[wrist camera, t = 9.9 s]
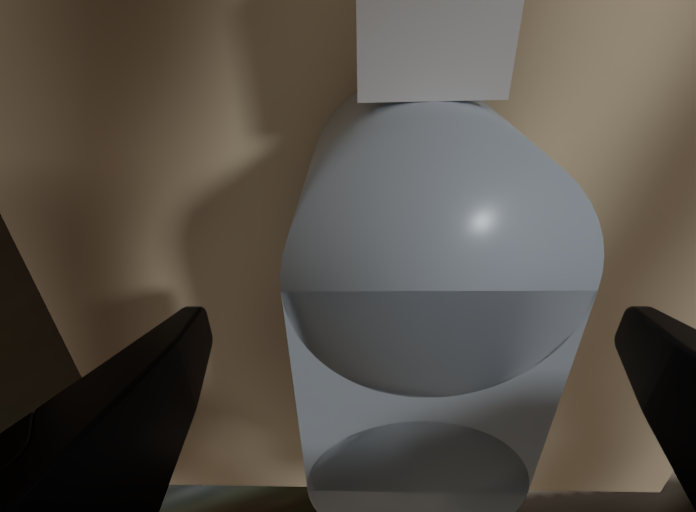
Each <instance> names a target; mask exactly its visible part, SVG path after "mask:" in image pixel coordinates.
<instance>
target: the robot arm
mask: <svg viewBox="0 0 696 512" xmlns="http://www.w3.org/2000/svg"><path fill="white" fill-rule="evenodd" d="M212 343H213V336H212V331H211V327H210V323H209V319H208V316H207V312H206V310H205V308H204V307H202V306H186V307H184V308H182V309H180V310H179V311H177V312H176V313H175V314H173V315H172V316H170V317H169V318H167V319H166V320H164V321H163V322H162V323H160V324H159V325H157V326H156V327H154V328H153V329H151V330H150V331H149V332H147V333H146V334H144V335H143V336H141V337H140V338H138V339H137V340H135V341H134V342H133V343H131V344H130V345H128V346H127V347H125V348H124V349H122V350H121V351H120V352H118V353H117V354H115V355H114V356H112V357H111V358H109V359H108V360H107V361H105V362H104V363H102V364H101V365H99V366H98V367H96V368H95V369H93V370H92V371H91V372H89V373H88V374H86V375H85V376H83V377H82V378H80V379H79V380H78V381H76V382H75V383H73V384H72V385H70V386H69V387H67V388H66V389H64V390H63V391H62V392H60V393H59V394H57V395H56V396H54V397H53V398H51V399H50V400H49V401H47V402H46V403H44V404H43V405H41V406H40V407H38V408H37V409H36V410H35V413H34V412H31V413H29V414H28V415H27V416H25V417H24V418H22V419H21V420H19V421H18V422H16V423H15V424H14V425H12V426H11V427H9V428H8V429H6V430H5V431H3V432H2V433H0V512H159V510H160V508H161V505H162V502H163V500H164V497H165V494H166V491H167V489H168V486H169V483H170V481H171V478H172V475H173V472H174V470H175V467H176V464H177V461H178V459H179V456H180V453H181V451H182V448H183V445H184V442H185V440H186V437H187V434H188V431H189V429H190V426H191V423H192V421H193V418H194V415H195V412H196V409H197V405H198V402H199V398H200V394H201V390H202V386H203V381H204V377H205V373H206V369H207V365H208V361H209V356H210V352H211V348H212ZM614 343H615V347H616V350H617V352H618V355H619V357H620V360H621V362H622V365H623V367H624V369H625V372H626V374H627V377H628V379H629V382H630V384H631V387H632V389H633V391H634V394H635V396H636V399H637V401H638V403H639V406H640V408H641V410H642V412H643V414H644V416H645V418H646V420H647V422H648V424H649V426H650V428H651V430H652V432H653V433H654V435H655V437H656V439H657V441H658V443H659V445H660V446H661V448H662V450H663V452H664V454H665V456H666V458H667V459H668V461H669V463H670V465H671V467H672V469H673V471H674V472H675V474H676V476H677V478H678V480H679V482H680V484H681V485H682V487H683V489H684V491H685V493H686V495H687V497H688V498H689V500H690V502H691V504H692V506H693V508H694V510H695V511H696V329H695V328H693V327H691V326H689V325H687V324H685V323H683V322H681V321H679V320H677V319H675V318H673V317H671V316H669V315H667V314H665V313H663V312H661V311H659V310H657V309H655V308H653V307H650V306H630V307H628V308H627V309H626V310H625V311H624V314H623V316H622V319H621V321H620V324H619V326H618V329H617V331H616V333H615V338H614Z"/></svg>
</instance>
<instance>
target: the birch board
mask: <svg viewBox="0 0 696 512" xmlns="http://www.w3.org/2000/svg"><path fill="white" fill-rule="evenodd" d="M355 92H357V26H356V0H0V214H1V216H2V218H3V220H4V222H5V224H6V226H7V228H8V230H9V232H10V234H11V236H12V238H13V240H14V242H15V244H16V246H17V248H18V250H19V252H20V254H21V256H22V258H23V260H24V262H25V264H26V266H27V268H28V270H29V272H30V274H31V276H32V278H33V280H34V282H35V284H36V286H37V288H38V290H39V292H40V294H41V296H42V299H43V301H44V303H45V305H46V307H47V309H48V311H49V313H50V315H51V317H52V319H53V321H54V323H55V325H56V327H57V329H58V331H59V333H60V335H61V337H62V339H63V341H64V343H65V345H66V347H67V349H68V351H69V353H70V355H71V357H72V359H73V361H74V363H75V365H76V367H77V369H78V371H79V373H80V375H81V377H83V376H85V375H86V374H88V373H89V372H91V371H92V370H93V369H95V368H96V367H98V366H99V365H101V364H102V363H104V362H105V361H107V360H108V359H109V358H111V357H112V356H114V355H115V354H117V353H118V352H120V351H121V350H122V349H124V348H125V347H127V346H128V345H130V344H131V343H133V342H134V341H135V340H137V339H138V338H140V337H141V336H143V335H144V334H146V333H147V332H149V331H150V330H151V329H153V328H154V327H156V326H157V325H159V324H160V323H162V322H163V321H164V320H166V319H167V318H169V317H170V316H172V315H173V314H175V313H176V312H177V311H179V310H180V309H182V308H184V307H186V306H202V307H204V308H205V310H206V312H207V316H208V319H209V323H210V327H211V331H212V336H213V343H212V348H211V352H210V356H209V361H208V365H207V369H206V373H205V377H204V381H203V386H202V390H201V394H200V398H199V402H198V405H197V409H196V412H195V415H194V418H193V421H192V423H191V426H190V429H189V431H188V434H187V437H186V440H185V442H184V445H183V448H182V451H181V453H180V456H179V459H178V461H177V464H176V467H175V470H174V472H173V475H172V478H171V481H170V483H169V484H173V485H236V486H299V487H307V483H306V475H305V468H304V460H303V453H302V445H301V438H300V430H299V423H298V415H297V408H296V400H295V393H294V385H293V378H292V371H291V363H290V356H289V348H288V341H287V333H286V326H285V318H284V311H283V303H282V296H281V283H280V271H281V261H282V255H283V252H284V248H285V244H286V240H287V237H288V234H289V231H290V227H291V224H292V221H293V218H294V215H295V211H296V208H297V205H298V202H299V199H300V195H301V192H302V189H303V186H304V183H305V179H306V176H307V173H308V170H309V167H310V163H311V160H312V157H313V154H314V151H315V147H316V144H317V141H318V139H319V136H320V134H321V132H322V130H323V128H324V126H325V125H326V123H327V121H328V120H329V118H330V117H331V116H332V114H333V113H334V112H335V110H336V109H337V108H338V107H339V106H340V105H341V104H342V103H343V102H344V101H345V100H346V99H347V98H349V97H350V96H351V95H353V94H354V93H355ZM484 101H485V102H486V103H487V104H488V105H490V106H491V107H492V108H493V109H494V110H495V111H497V112H498V113H499V114H500V115H501V116H502V117H504V118H505V119H506V120H507V121H508V122H509V123H511V124H512V125H513V126H514V127H515V128H516V129H518V130H519V131H520V132H521V133H522V134H523V135H525V136H526V137H527V138H528V139H529V140H530V141H532V142H533V143H534V144H535V145H536V146H537V147H539V148H540V149H541V150H542V151H543V152H544V153H546V154H547V155H548V156H549V157H550V158H551V159H553V160H554V161H555V162H556V163H557V164H558V165H560V166H561V167H562V168H563V169H564V170H565V171H566V172H567V173H568V174H569V175H570V176H571V177H572V178H573V179H574V180H575V181H576V182H577V183H578V184H579V185H580V187H581V188H582V189H583V191H584V192H585V194H586V195H587V197H588V198H589V200H590V201H591V203H592V205H593V208H594V210H595V212H596V214H597V216H598V219H599V223H600V227H601V231H602V235H603V243H604V264H603V273H602V277H601V281H600V285H599V288H598V292H597V295H596V298H595V300H594V303H593V306H592V309H591V312H590V315H589V318H588V321H587V323H586V326H585V329H584V332H583V335H582V338H581V341H580V344H579V347H578V349H577V352H576V355H575V358H574V361H573V364H572V367H571V370H570V372H569V375H568V378H567V381H566V384H565V387H564V390H563V393H562V396H561V398H560V401H559V404H558V407H557V410H556V413H555V416H554V419H553V421H552V424H551V427H550V430H549V433H548V436H547V439H546V442H545V445H544V447H543V450H542V453H541V456H540V459H539V462H538V465H537V468H536V470H535V473H534V476H533V479H532V482H531V485H530V488H529V490H552V491H615V492H661V490H662V489H663V487H664V485H665V484H666V482H667V481H668V479H669V478H670V476H671V475H672V473H673V469H672V467H671V465H670V463H669V461H668V459H667V458H666V456H665V454H664V452H663V450H662V448H661V446H660V445H659V443H658V441H657V439H656V437H655V435H654V433H653V432H652V430H651V428H650V426H649V424H648V422H647V420H646V418H645V416H644V414H643V412H642V410H641V408H640V406H639V403H638V401H637V399H636V396H635V394H634V391H633V389H632V387H631V384H630V382H629V379H628V377H627V374H626V372H625V369H624V367H623V365H622V362H621V360H620V357H619V355H618V352H617V350H616V347H615V343H614V338H615V333H616V331H617V329H618V326H619V324H620V321H621V319H622V316H623V314H624V311H625V310H626V309H627V308H628V307H630V306H650V307H653V308H655V309H657V310H659V311H661V312H663V313H665V314H667V315H669V316H671V317H673V318H675V319H677V320H679V321H681V322H683V323H685V324H687V325H689V326H691V327H693V328H695V329H696V0H524V7H523V13H522V19H521V25H520V31H519V37H518V43H517V49H516V55H515V62H514V68H513V74H512V80H511V86H510V92H509V98H508V100H484Z"/></svg>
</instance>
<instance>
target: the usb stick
mask: <svg viewBox="0 0 696 512" xmlns="http://www.w3.org/2000/svg"><path fill="white" fill-rule="evenodd" d="M523 7H524V0H356V26H357V92H355V93H354V94H353V95H351V96H350V97H349V98H347V99H346V100H345V101H344V102H343V103H342V104H341V105H340V106H339V107H338V108H337V109H336V110H335V112H334V113H333V114H332V116H331V117H330V118H329V120H328V121H327V123H326V125H325V126H324V128H323V130H322V132H321V134H320V136H319V139H318V141H317V144H316V147H315V151H314V154H313V157H312V160H311V163H310V167H309V170H308V173H307V176H306V179H305V183H304V186H303V189H302V192H301V195H300V199H299V202H298V205H297V208H296V211H295V215H294V218H293V221H292V224H291V227H290V231H289V234H288V237H287V240H286V244H285V248H284V252H283V255H282V261H281V271H280V283H281V296H282V303H283V311H284V318H285V326H286V333H287V341H288V348H289V356H290V363H291V371H292V378H293V385H294V393H295V400H296V408H297V415H298V423H299V430H300V438H301V445H302V453H303V460H304V468H305V475H306V483H307V490H308V494H309V499H310V501H311V503H312V505H313V507H314V508H315V509H316V511H317V512H516V511H517V510H518V509H519V508H520V506H521V505H522V503H523V502H524V500H525V498H526V496H527V493H528V491H529V488H530V485H531V482H532V479H533V476H534V473H535V470H536V468H537V465H538V462H539V459H540V456H541V453H542V450H543V447H544V445H545V442H546V439H547V436H548V433H549V430H550V427H551V424H552V421H553V419H554V416H555V413H556V410H557V407H558V404H559V401H560V398H561V396H562V393H563V390H564V387H565V384H566V381H567V378H568V375H569V372H570V370H571V367H572V364H573V361H574V358H575V355H576V352H577V349H578V347H579V344H580V341H581V338H582V335H583V332H584V329H585V326H586V323H587V321H588V318H589V315H590V312H591V309H592V306H593V303H594V300H595V298H596V295H597V292H598V288H599V285H600V281H601V277H602V273H603V264H604V243H603V235H602V231H601V227H600V223H599V219H598V216H597V214H596V212H595V210H594V208H593V205H592V203H591V201H590V200H589V198H588V197H587V195H586V194H585V192H584V191H583V189H582V188H581V187H580V185H579V184H578V183H577V182H576V181H575V180H574V179H573V178H572V177H571V176H570V175H569V174H568V173H567V172H566V171H565V170H564V169H563V168H562V167H561V166H560V165H558V164H557V163H556V162H555V161H554V160H553V159H551V158H550V157H549V156H548V155H547V154H546V153H544V152H543V151H542V150H541V149H540V148H539V147H537V146H536V145H535V144H534V143H533V142H532V141H530V140H529V139H528V138H527V137H526V136H525V135H523V134H522V133H521V132H520V131H519V130H518V129H516V128H515V127H514V126H513V125H512V124H511V123H509V122H508V121H507V120H506V119H505V118H504V117H502V116H501V115H500V114H499V113H498V112H497V111H495V110H494V109H493V108H492V107H491V106H490V105H488V104H487V103H486V102H485V101H484V100H508V98H509V92H510V86H511V80H512V74H513V68H514V62H515V55H516V49H517V43H518V37H519V31H520V25H521V19H522V13H523Z"/></svg>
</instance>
